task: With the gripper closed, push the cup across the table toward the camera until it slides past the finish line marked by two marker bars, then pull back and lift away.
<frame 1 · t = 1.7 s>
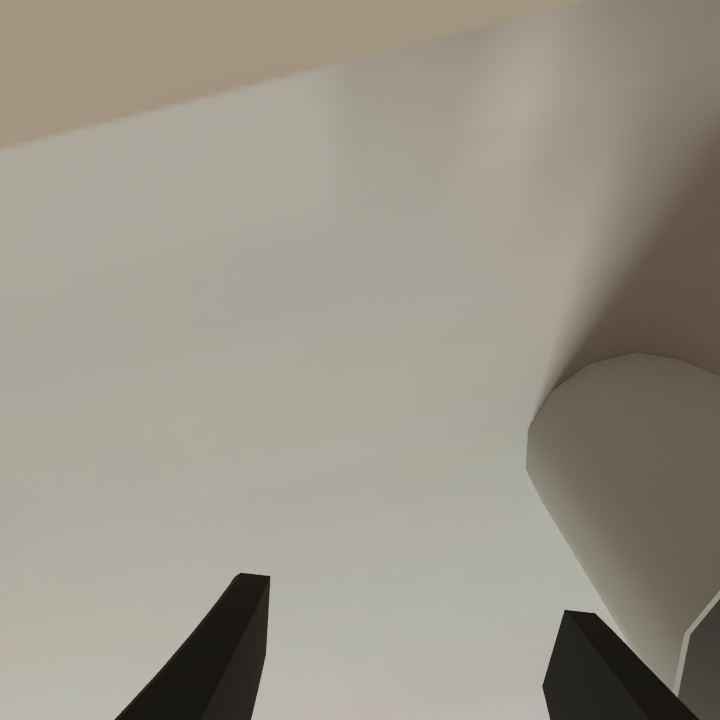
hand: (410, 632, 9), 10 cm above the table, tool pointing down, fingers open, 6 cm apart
cup: (622, 444, 19), on the table
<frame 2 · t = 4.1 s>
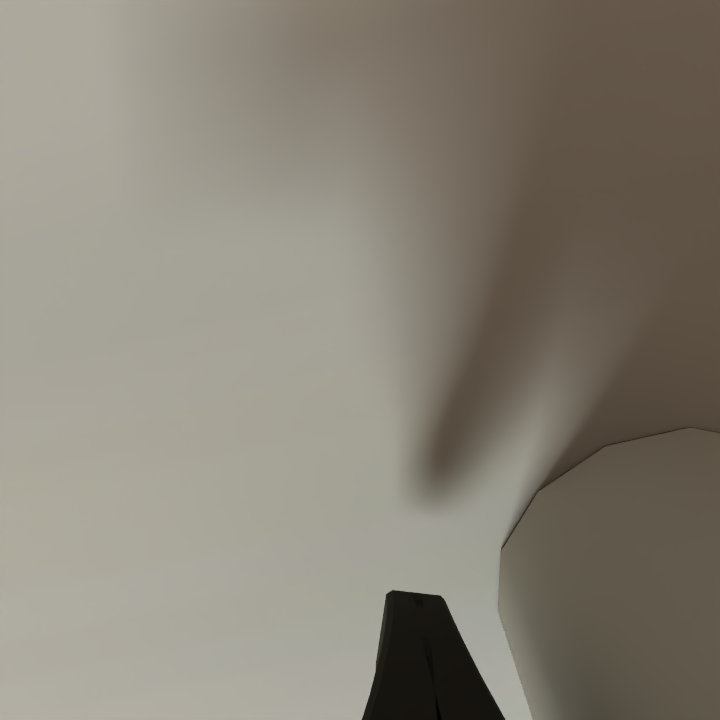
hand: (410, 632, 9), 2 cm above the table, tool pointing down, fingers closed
cup: (658, 574, 11), on the table, touching gripper
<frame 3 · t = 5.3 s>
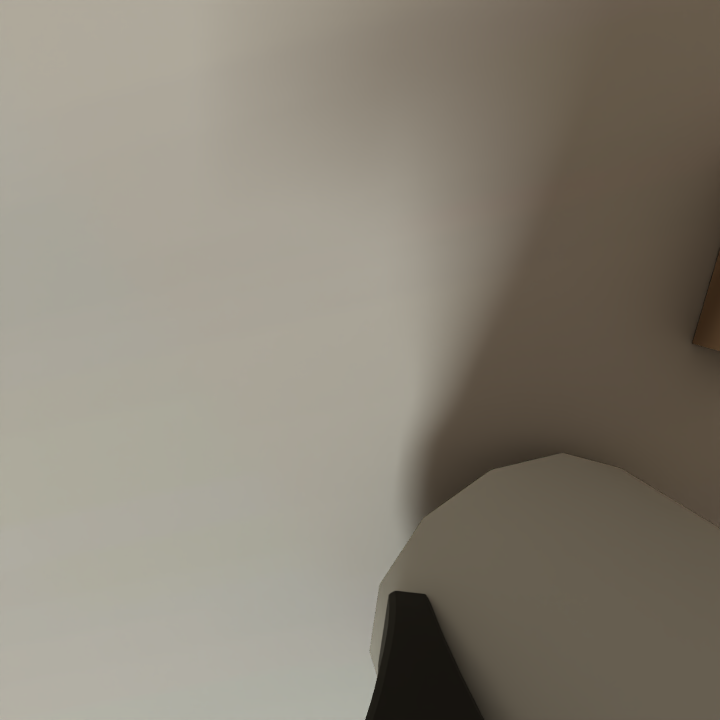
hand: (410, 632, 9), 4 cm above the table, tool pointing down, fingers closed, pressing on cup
finish line: (652, 604, 13), on the table
cup: (521, 596, 12), point 1 cm above the table, touching gripper
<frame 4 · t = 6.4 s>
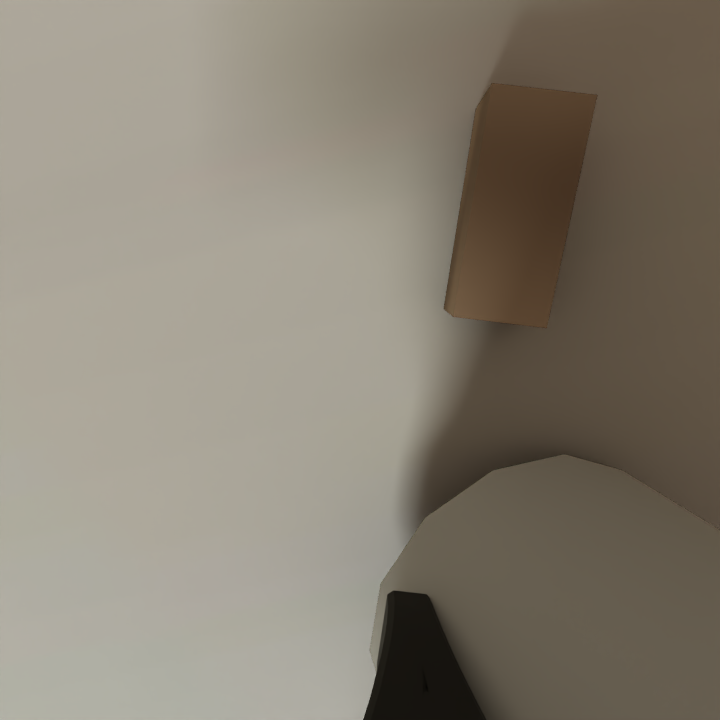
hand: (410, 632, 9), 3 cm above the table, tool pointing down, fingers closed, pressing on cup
finish line: (436, 573, 13), on the table
cup: (521, 597, 12), point 1 cm above the table, touching gripper
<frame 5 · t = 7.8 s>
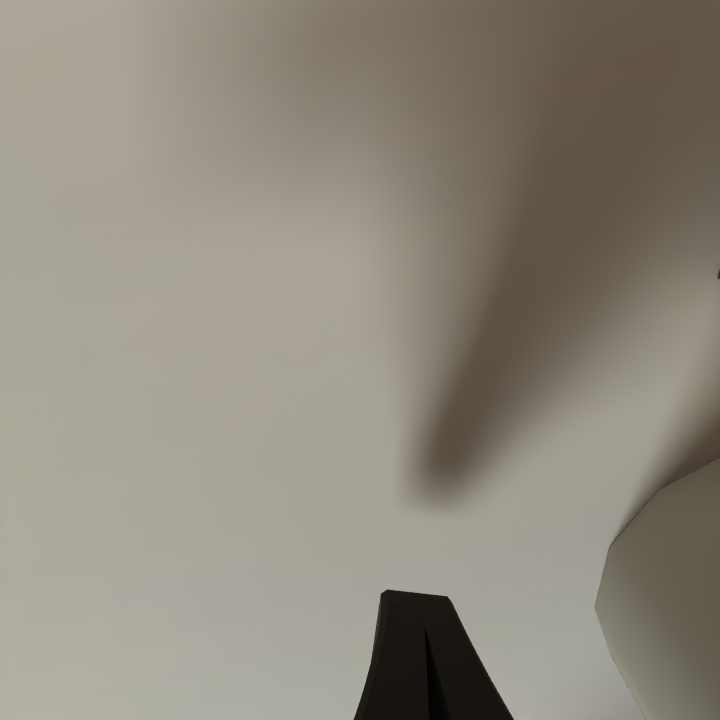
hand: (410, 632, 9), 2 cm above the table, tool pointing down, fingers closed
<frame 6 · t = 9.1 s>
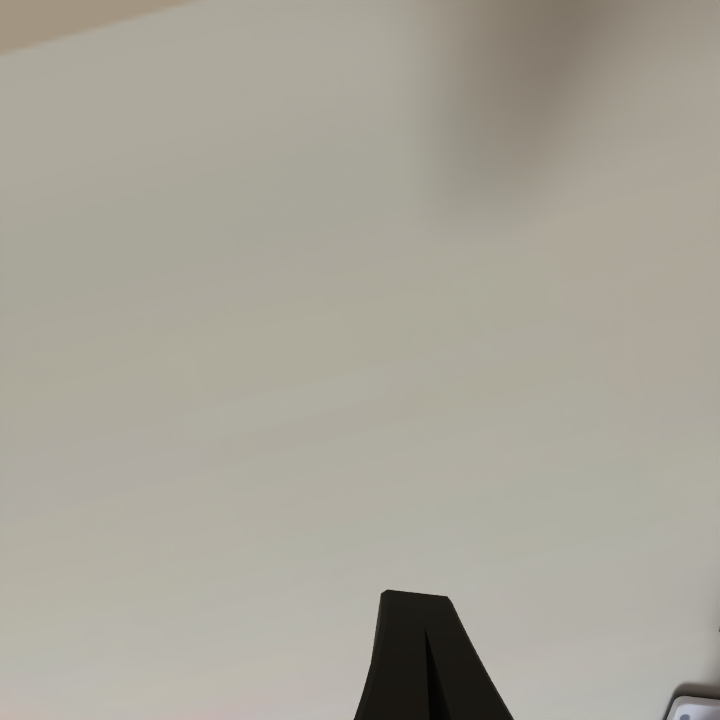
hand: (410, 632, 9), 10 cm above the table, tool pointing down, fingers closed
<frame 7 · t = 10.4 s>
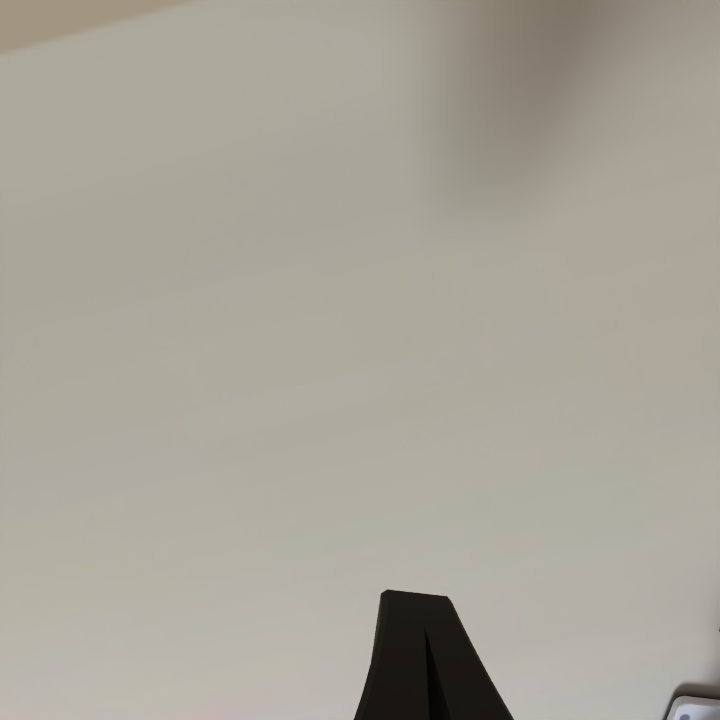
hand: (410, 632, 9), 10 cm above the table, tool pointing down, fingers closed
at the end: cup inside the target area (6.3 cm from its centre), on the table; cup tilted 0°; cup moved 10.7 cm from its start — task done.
